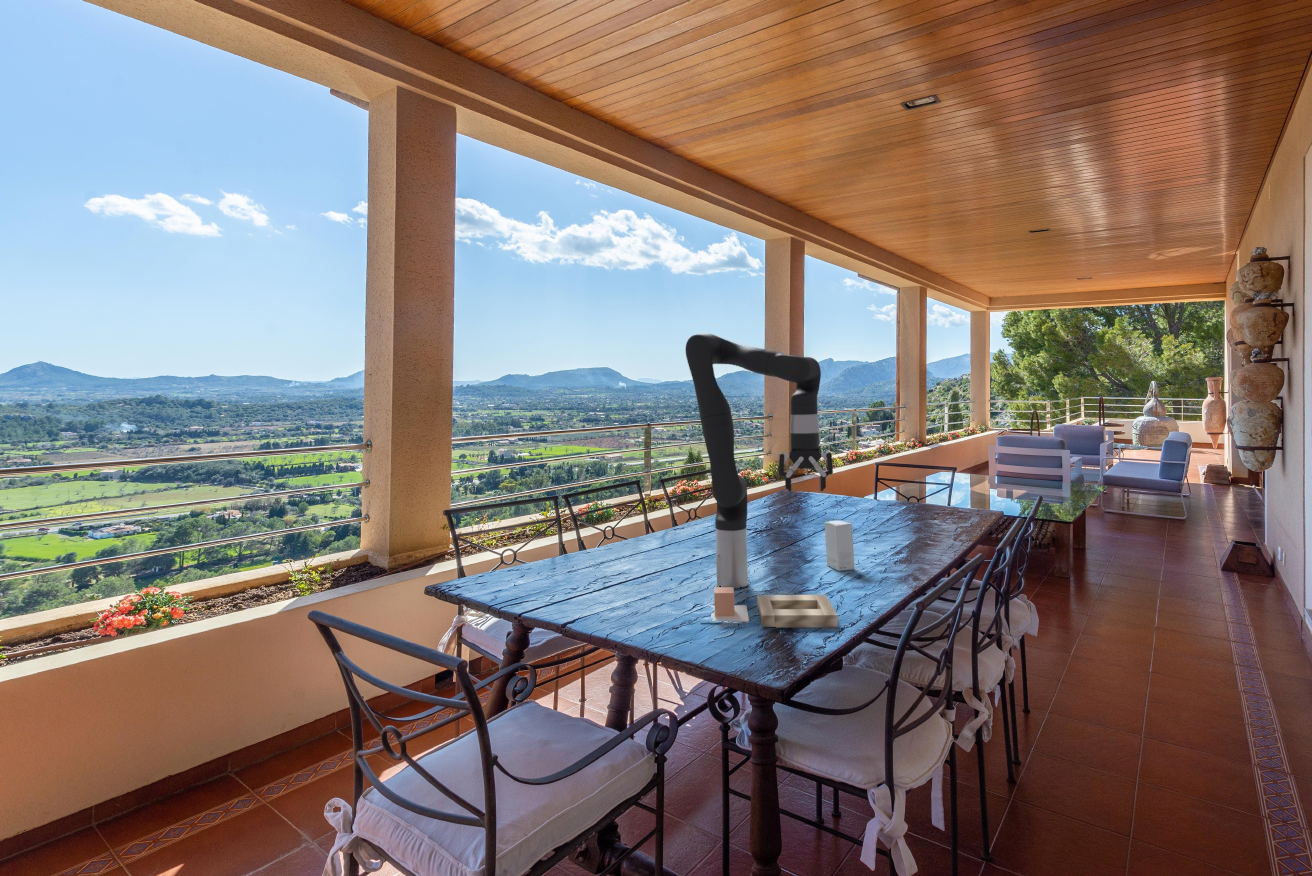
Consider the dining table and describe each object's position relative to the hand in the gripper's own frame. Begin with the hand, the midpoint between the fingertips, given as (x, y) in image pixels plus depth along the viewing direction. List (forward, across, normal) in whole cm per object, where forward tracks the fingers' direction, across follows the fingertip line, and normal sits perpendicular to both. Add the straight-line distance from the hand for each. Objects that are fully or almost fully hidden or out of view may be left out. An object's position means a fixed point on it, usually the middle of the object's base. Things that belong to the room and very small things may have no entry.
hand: (805, 490), depth 174 cm
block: (+30, -23, -12) cm, 39 cm away
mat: (+30, -23, -12) cm, 40 cm away
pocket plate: (+30, -5, -13) cm, 33 cm away
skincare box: (+30, +15, +33) cm, 47 cm away
